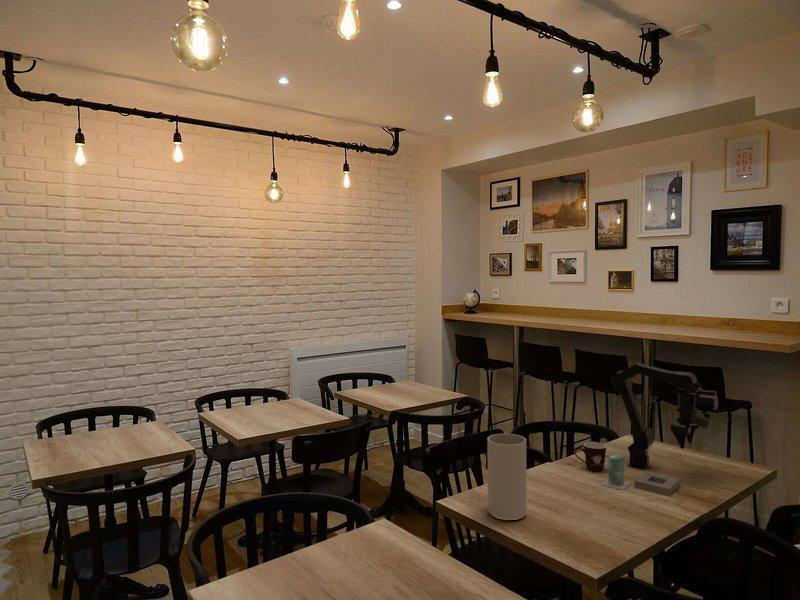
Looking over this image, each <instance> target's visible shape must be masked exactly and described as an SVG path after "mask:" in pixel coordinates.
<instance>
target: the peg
mask: <svg viewBox="0 0 800 600" xmlns="http://www.w3.org/2000/svg"><path fill="white" fill-rule="evenodd" d="M624 472H625V458H624V456H621V455H617V454H612V455H611V456H609V457H608V479H609V484H612V485H616V486H621V485H622V484H624V482H625V477H624V475H625V473H624Z"/></svg>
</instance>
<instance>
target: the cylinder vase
mask: <svg viewBox="0 0 800 600" xmlns="http://www.w3.org/2000/svg"><path fill="white" fill-rule="evenodd" d="M527 499H528V498H527V439H526V438H525V437H524V436H522V435H519V434H514V433H513V434H512V433H497V434H491V435H489V436H488V437H487V511H488V510H489V512H490V513H492V514H493V515H495V516H498V517H502V518H520V517H523V516H525V515H526V516H527V503H528V502H527V501H528V500H527ZM489 512H488V513H489ZM526 516H525V517H526Z"/></svg>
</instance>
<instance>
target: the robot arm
mask: <svg viewBox="0 0 800 600" xmlns="http://www.w3.org/2000/svg"><path fill="white" fill-rule="evenodd" d="M637 375H642V376H646V377H650V378H653V379H658V380H661V381H665V382H668V383H670V384H671V385H673V386H675V387H676V388H675V389H673V391H672V393H673V394H677V395H678V396H677V397H678V399H677V400H678V402H677V403H678V405H677V406H678V407H676V412H678V414H677V418H676V421H675V422H673V423H672V424H670V428H669V430H670V431H671V433H673V435H674V438H675V439H676V441H677V442H678V445H679V447H680V449H682V450H685V447H686V443H687V442H688V444H692V443H693V441H694V436H695V433H696V430H697V429H699V428H700V427H702V429H706V430H708V429H709V428H710V426H711V424H712V423H713V418H712V416H711V415H712V414H711V413H708V412H705V413H704V414H703V413H699V412H698V408H701V409H706V410H707V409H708V410H717V409H718V407H719V399H718V395H717V391H716V390H705V389H703V387H702V386H701V384H700V383H699V382H698V379H697V377H696V375H695V374H694V373H693V372H689V371H674V370H673V371H672V370H668V369H663V368H661V367H656V366H651V365H649V364H648V365H647V364H644V363H642V362H638V363H637V362H636V363H634V364H632V365H631V366H629V367H628V368H626V369H623V370H620V371H617V372H615V373H613V374H612V375H611V378H610V381H611V383H612V385H613V386H614V389H615V390H616V391H617V392H618V394H620V396H621V399H622V402H623V404H624V408H625V410H626V413H627V416H628V419H629V422H630V424H631V428H632V441H633V442H632V443H631V444H630V445H628V446H627V450H628V453H629V463H628V464H627V466H628V467H631V468H635V469H640V470H645V469H647V468H648V467H650V455H649V451H648V450H649V449H650V448H651V447H653V444H654V443H655V436H654V434H653V431H652V430H653V429H652V428H651V427H650V428H648V427H647V426H646V425H645V423H644V421H643V418H642V415H641V412H640V409H639V406H638V404H637V401H636V398H635V395H634V392H633V380H632V379H633V378H635V377H636V376H637ZM696 406H697V407H698V408H697V407H696ZM686 441H687V442H686Z"/></svg>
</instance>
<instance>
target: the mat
mask: <svg viewBox="0 0 800 600" xmlns="http://www.w3.org/2000/svg"><path fill="white" fill-rule="evenodd" d="M602 485H605V486H604V487H606V486H608V487H607V488H610V487H612V488H611V489H614V488H616V489H615V490H618V489H620V490H619V491H621V490H623V491H624V490H626V489H627V488H628V487H630V486H631V485H632V483H631V482H628V481H624V484H622V485H621V486H616V485H612V484H609V478H608V479H606V480H605V481H603V482H602V483H600V486H602ZM629 485H630V486H629ZM626 487H627V488H626ZM625 488H626V489H625Z"/></svg>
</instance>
